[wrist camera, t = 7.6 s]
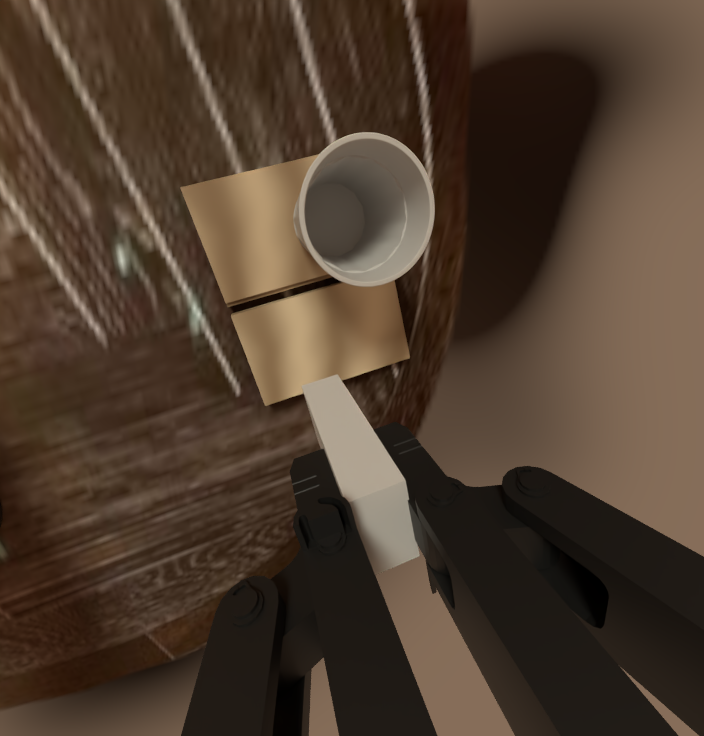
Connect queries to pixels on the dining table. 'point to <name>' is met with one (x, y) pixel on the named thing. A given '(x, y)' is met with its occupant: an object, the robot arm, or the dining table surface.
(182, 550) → the dining table surface
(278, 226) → the tan flat board
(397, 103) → the dining table surface
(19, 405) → the dining table surface
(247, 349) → the plank
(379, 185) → the cup
